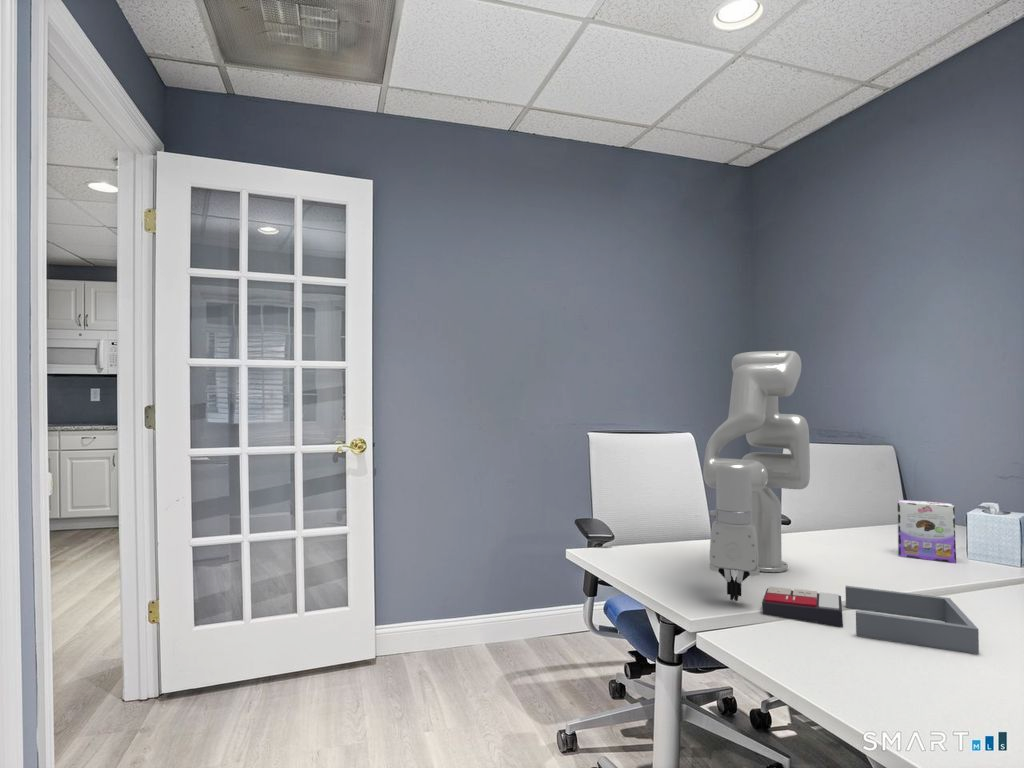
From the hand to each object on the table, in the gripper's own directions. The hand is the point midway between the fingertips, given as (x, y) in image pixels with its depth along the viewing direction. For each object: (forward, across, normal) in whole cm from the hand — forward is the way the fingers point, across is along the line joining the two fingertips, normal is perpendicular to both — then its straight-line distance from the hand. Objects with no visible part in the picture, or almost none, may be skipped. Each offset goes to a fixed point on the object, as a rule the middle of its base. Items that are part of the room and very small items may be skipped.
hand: (734, 598), depth 130 cm
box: (+1, +32, 0) cm, 33 cm away
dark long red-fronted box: (+2, +14, 0) cm, 14 cm away
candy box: (+1, +49, +66) cm, 83 cm away
